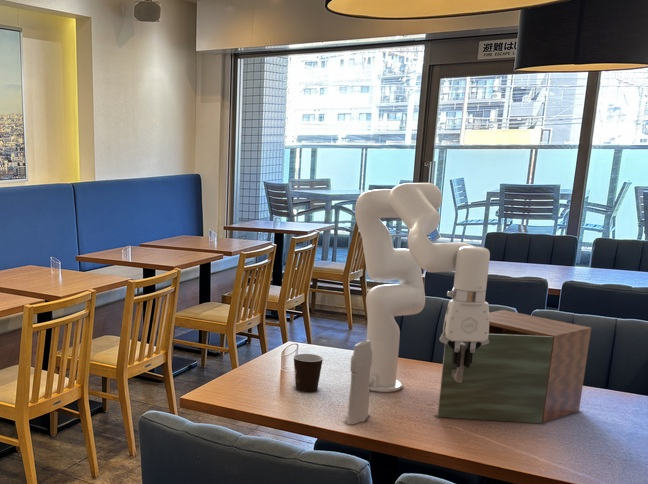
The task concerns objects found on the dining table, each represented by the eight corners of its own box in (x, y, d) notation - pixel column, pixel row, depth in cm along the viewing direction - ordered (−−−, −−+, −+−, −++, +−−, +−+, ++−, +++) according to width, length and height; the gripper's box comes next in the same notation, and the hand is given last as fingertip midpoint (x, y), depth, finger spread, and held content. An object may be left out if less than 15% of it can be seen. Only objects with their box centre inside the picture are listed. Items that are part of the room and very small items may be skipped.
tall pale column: (354, 426, 190) (360, 346, 184) (340, 422, 192) (345, 343, 187) (374, 416, 197) (379, 338, 192) (360, 412, 200) (365, 335, 194)
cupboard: (542, 422, 192) (554, 335, 186) (458, 395, 214) (466, 316, 208) (579, 411, 200) (591, 327, 194) (494, 385, 222) (503, 309, 216)
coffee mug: (315, 395, 214) (317, 363, 211) (288, 390, 218) (289, 359, 216) (328, 384, 223) (329, 354, 221) (301, 380, 228) (303, 350, 225)
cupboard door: (549, 432, 185) (562, 343, 179) (442, 425, 190) (451, 338, 184) (540, 422, 192) (552, 336, 186) (437, 415, 197) (445, 331, 191)
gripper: (440, 298, 178) (433, 369, 183) (507, 299, 176) (498, 371, 181) (432, 292, 185) (426, 360, 190) (496, 293, 184) (488, 362, 188)
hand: (461, 365), depth 185 cm, fingers closed on cupboard door
